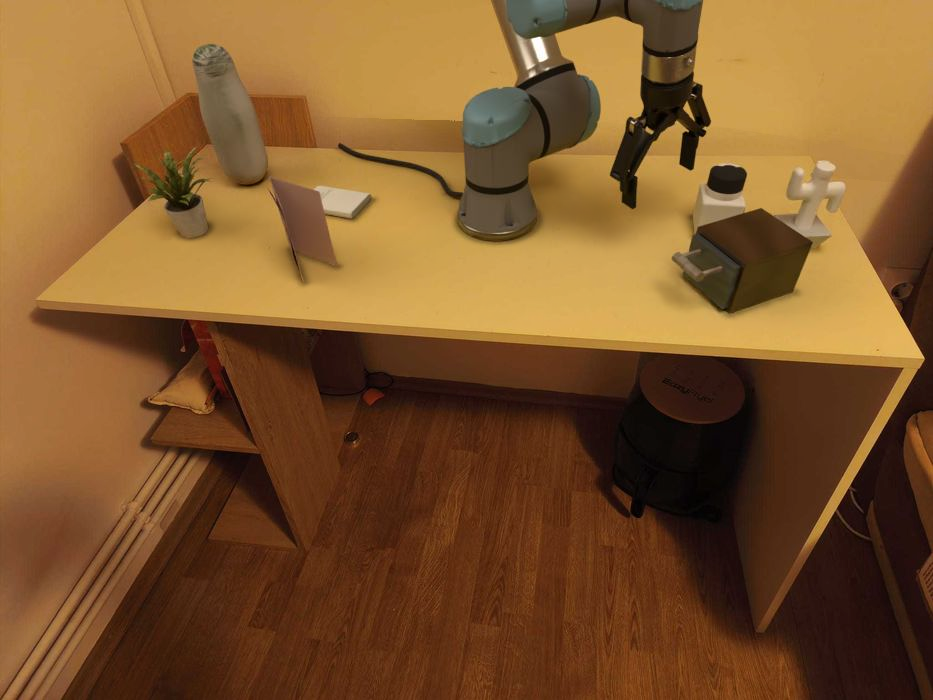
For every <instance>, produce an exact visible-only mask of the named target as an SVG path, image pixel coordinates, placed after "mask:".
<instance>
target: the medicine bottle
mask: <svg viewBox="0 0 933 700" xmlns="http://www.w3.org/2000/svg"><path fill="white" fill-rule="evenodd" d="M747 177H748V172H747V170H746V169H745V167H742V166H741V165H738V164H735V163H732V162H723V163H717V164H714V165H713V166H712V167H711V168H710V170H709V174H708V177H707V182H706V183H701V184H699V188H698V192H697V195H696V199H695V205H694V209H693V213H692V223H693V231H694V235H696V231H697V227H699V226H702V225H706V224H709V223H712V222H716V221H719V220H722V219H726V218H729V217H732V216H736V215H739V214H743V213H745V210H746V207H747V205H746V200H745V196H744V193H743V190H744V187H745V184H746V180H747Z"/></svg>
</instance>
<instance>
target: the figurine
mask: <svg viewBox="0 0 933 700" xmlns="http://www.w3.org/2000/svg"><path fill="white" fill-rule="evenodd" d="M805 171H806V170H804V168H802V167H795V168H794V169H793V171H792V173H791V175H790V179H789V181H788V184H787V187H786V192H785V196H786V198H787V200H789V201H802V202H801V204H800V207H799V209H798V212H797V213H786V214H773V216H774V217H776V218H777V219H779V220H780V221H782V222H783V223H785V224H786V225H788V226H789V227H791V228H792V229H794V230H795V231H797V232H798V233H800V234H801V235H803V236H804V237H806V238H807V239H809V240H810V241H812V242H813V244H812V246H811V249H810V250H814V249H816V248H817V247H818V246H820V245H822V244H823V243H824V242H826V241H827V240H828V239H830V238H832V237H833V236H834V235H833V233H832V232H831V231H830V229H829V228H827V226H826V224H824V222H823V221H822V220H821V219H820V218H819V217H818V215H817V213H818V211H819V207H820V205H821V203H822V201H823V200H827V199H828V200H827V203H826V205H825V210H827V212H829V213H831V214H834V213H837V212H838V211H839V208H840V206H841V204H842V201H843V199H844V196H845V193H846V189H847V186H846V183H844V182H843V181H830V180H831V178H832V177H833V175H834V172H835V171H836V166H835V164H834V163H831V162H830V161H829V160H825V159H824V160H817V161H816V163H815V164H814V168H813V170H812V172H810V175H809V176H810V179H809V181H808V182H804V178H805V176H806V172H805Z"/></svg>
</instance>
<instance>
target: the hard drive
mask: <svg viewBox="0 0 933 700" xmlns="http://www.w3.org/2000/svg"><path fill="white" fill-rule="evenodd" d="M312 190H316V191H319V192H320V196H321V200H322V205H323V209H324V213H325V215H328V216H335V217H339V218H346V219H350V220H353V219H354V218H355V217H356V216H357V215H359V213H360V212H361V211H362V210H363V209H364V208H365V207H366V206H367V205H368V203H369V202H371V200H372V195H371V193H369V192H362V191H356V190H352V189H351V190H350V189H345V188H344V189H343V188H339V187H332V186H325V185H319V184H318V185H316V187H314V188H313V189H312Z"/></svg>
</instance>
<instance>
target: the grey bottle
mask: <svg viewBox="0 0 933 700" xmlns="http://www.w3.org/2000/svg"><path fill="white" fill-rule="evenodd" d="M192 69H193V71H194V75H195V80H196V84H197V91H198V104H199V109H200V114H201V118H202V121H203V124H204V127H205V129H206V132H207V135H208V137H209V140H210V142H211V145H212V148H213V151H214V153H215V156H216V159H217V161H218V164H219V166H220V168H221V170H222V171H223V173H224V174H225V175H226V177H228V178H229V179H230V180H231V181H232V182H234V183H237V184H240V185H253V184H256V183H259V182H260V181H261V180H262V179H263V178H264V177H265V175H266V174H267V170H268V167H269V158H268V152H267V149H266V145H265V142H264V138H263V135H262V131H261V126H260V123H259V119H258V115H257V112H256V108H255V106H254V103H253V101H252V99H251V97H250V95H249V92H248V91H247V89H246V87H245V85H244V83H243V81H242V80H241V77H240V75H239V73H238V70H237V67H236V64H235V62H234V60H233V58H232V56H231V54H230V52H229V51H228V50H227V49H226V48H224V47H223V46H222V45H219V44H215V43H208V44H203V45H201V46H198V47H197V48H196V49H195V50H194V52H193V54H192Z"/></svg>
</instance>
